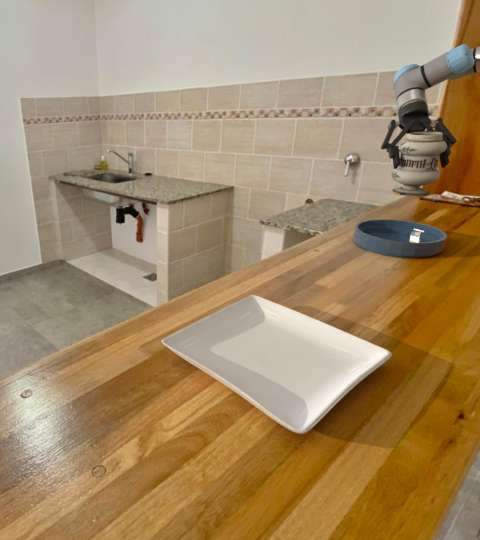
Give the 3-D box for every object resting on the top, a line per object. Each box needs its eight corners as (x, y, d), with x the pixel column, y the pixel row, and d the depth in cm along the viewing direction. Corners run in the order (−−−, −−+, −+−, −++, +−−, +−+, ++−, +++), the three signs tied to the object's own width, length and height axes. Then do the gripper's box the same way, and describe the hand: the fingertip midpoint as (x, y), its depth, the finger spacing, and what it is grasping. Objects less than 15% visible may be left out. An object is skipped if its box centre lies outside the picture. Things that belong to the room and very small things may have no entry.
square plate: (299, 455, 49) (303, 433, 48) (158, 356, 70) (158, 338, 68) (390, 368, 63) (396, 348, 62) (251, 306, 84) (252, 291, 82)
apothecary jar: (381, 194, 121) (395, 134, 114) (393, 187, 128) (407, 130, 121) (428, 199, 113) (446, 135, 105) (438, 191, 120) (456, 131, 112)
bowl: (439, 238, 113) (444, 224, 111) (444, 264, 97) (449, 248, 95) (356, 229, 124) (359, 216, 123) (348, 251, 109) (351, 236, 107)
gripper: (450, 115, 122) (461, 172, 115) (365, 119, 128) (370, 173, 121) (464, 97, 115) (476, 156, 108) (374, 102, 121) (380, 159, 114)
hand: (420, 165), depth 114 cm, fingers closed on apothecary jar, 12 cm apart
